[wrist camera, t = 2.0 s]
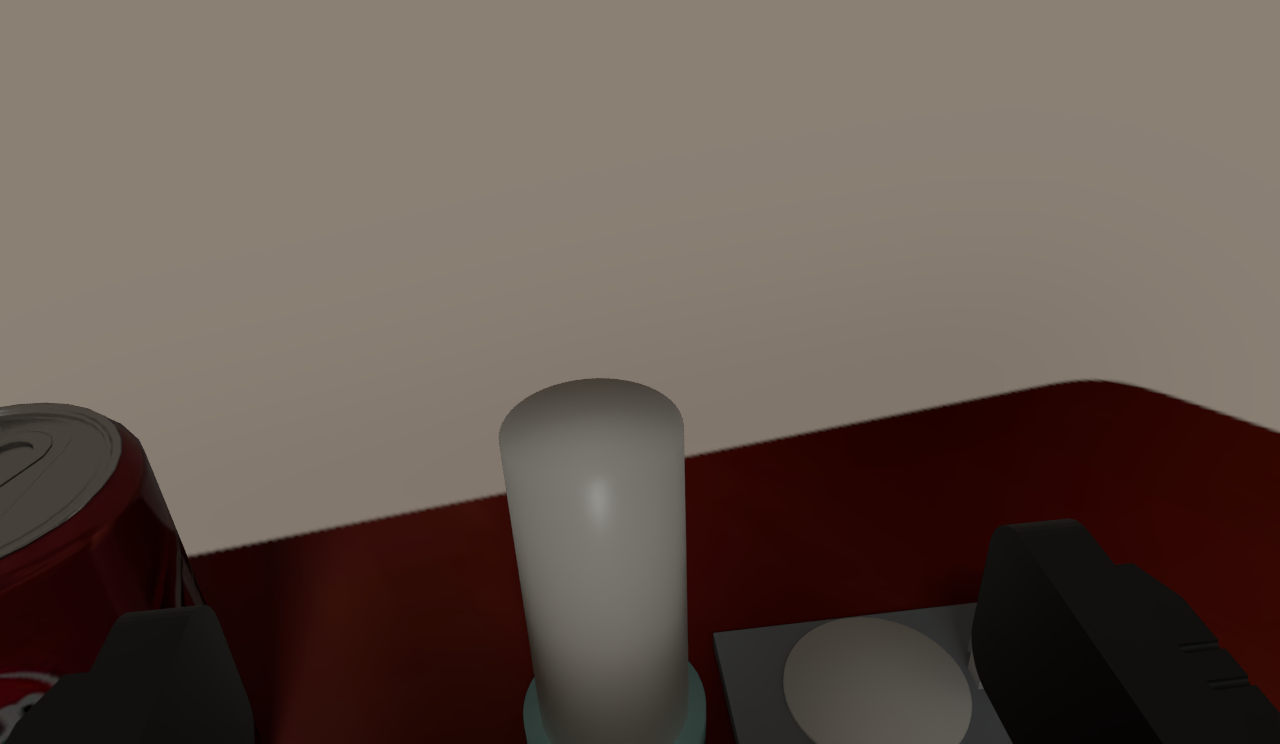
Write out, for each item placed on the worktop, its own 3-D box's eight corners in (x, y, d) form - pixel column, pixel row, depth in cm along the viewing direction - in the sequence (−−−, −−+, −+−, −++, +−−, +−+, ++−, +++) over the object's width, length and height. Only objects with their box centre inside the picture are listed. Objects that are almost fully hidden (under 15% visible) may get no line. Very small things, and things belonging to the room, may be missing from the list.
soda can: (115, 992, 23) (-119, 657, 16) (-67, 872, 25) (-327, 545, 19) (320, 753, 28) (206, 432, 22) (152, 675, 31) (7, 371, 25)
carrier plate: (1043, 606, 32) (1061, 539, 30) (1143, 760, 27) (1171, 688, 25) (713, 645, 31) (713, 577, 29) (751, 811, 26) (754, 741, 24)
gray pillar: (691, 655, 31) (685, 359, 25) (721, 805, 26) (724, 487, 20) (527, 674, 30) (481, 378, 24) (529, 830, 26) (472, 513, 20)
